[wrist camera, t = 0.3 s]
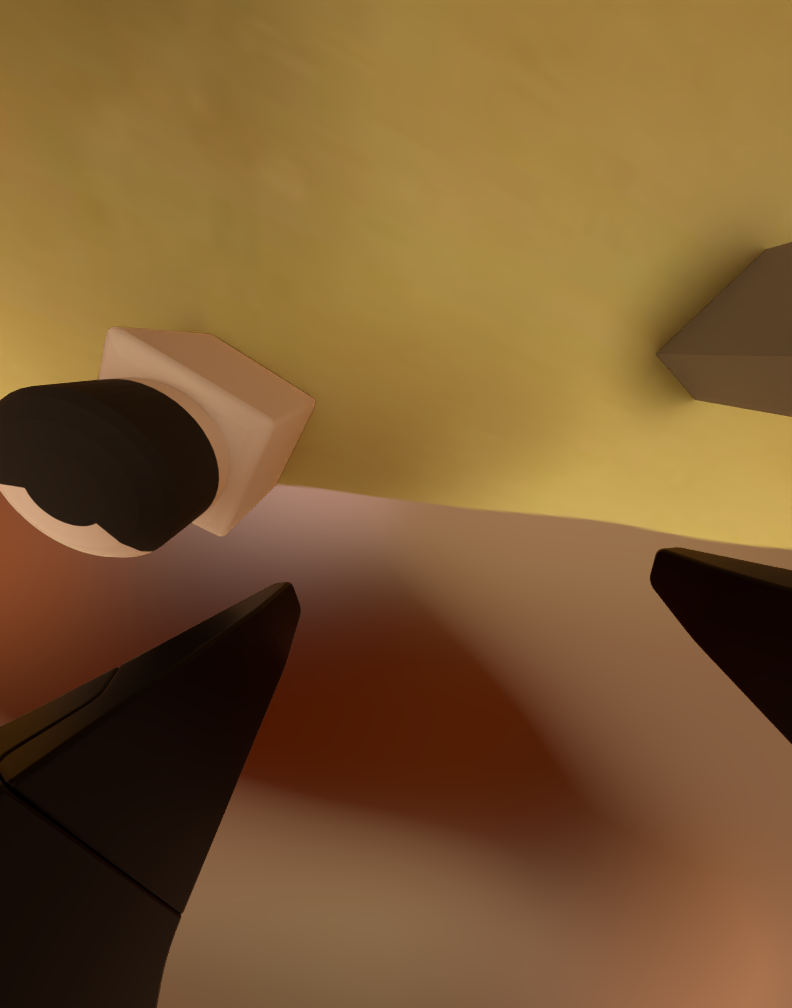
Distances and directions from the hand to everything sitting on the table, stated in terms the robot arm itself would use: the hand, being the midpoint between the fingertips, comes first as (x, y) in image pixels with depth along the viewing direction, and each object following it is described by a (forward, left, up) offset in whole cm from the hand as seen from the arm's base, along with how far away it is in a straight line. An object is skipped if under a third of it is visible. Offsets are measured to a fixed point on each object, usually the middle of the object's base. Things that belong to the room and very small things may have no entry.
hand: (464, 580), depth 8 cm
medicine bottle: (-5, -11, -14) cm, 19 cm away
